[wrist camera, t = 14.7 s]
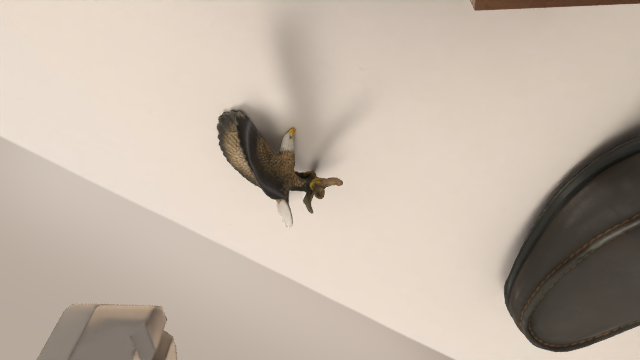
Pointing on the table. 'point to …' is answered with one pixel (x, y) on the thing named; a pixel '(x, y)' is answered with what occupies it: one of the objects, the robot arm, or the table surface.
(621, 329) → the loafer
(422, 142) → the table surface
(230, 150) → the eagle figurine
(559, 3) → the shelf
